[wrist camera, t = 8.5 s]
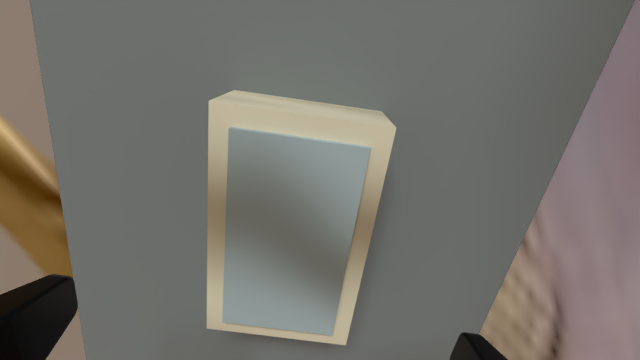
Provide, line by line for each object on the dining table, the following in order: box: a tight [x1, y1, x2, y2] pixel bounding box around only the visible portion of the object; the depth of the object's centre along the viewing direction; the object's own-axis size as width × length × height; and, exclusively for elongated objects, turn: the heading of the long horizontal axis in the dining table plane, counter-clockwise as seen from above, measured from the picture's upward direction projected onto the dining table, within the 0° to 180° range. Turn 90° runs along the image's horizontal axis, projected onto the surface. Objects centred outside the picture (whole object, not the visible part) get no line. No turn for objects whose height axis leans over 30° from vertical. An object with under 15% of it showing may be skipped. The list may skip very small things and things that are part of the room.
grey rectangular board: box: [30, 0, 635, 360], centre depth 13 cm, size 18×24×1 cm
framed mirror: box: [207, 90, 396, 345], centre depth 11 cm, size 8×5×3 cm, turn 172°
